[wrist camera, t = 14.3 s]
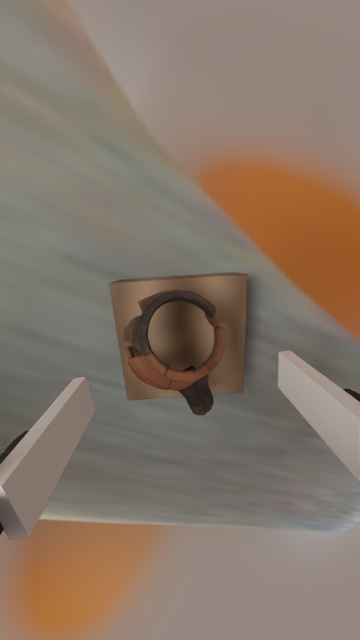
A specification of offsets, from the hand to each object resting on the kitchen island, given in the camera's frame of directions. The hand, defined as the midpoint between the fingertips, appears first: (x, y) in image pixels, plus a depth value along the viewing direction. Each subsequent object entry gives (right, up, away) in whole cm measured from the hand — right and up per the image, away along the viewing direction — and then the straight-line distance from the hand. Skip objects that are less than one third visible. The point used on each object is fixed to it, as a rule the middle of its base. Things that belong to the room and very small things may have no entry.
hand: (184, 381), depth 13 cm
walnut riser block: (0, +3, +13) cm, 13 cm away
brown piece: (-2, 0, +10) cm, 10 cm away
